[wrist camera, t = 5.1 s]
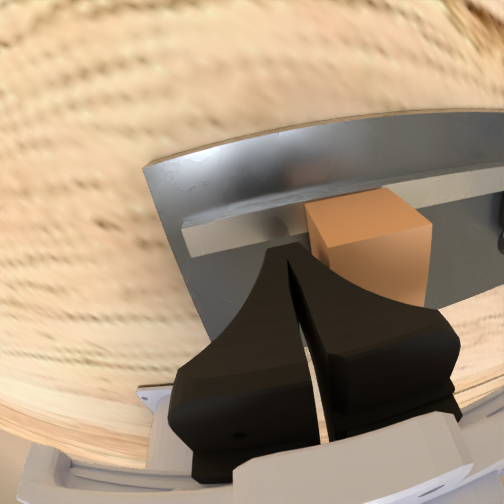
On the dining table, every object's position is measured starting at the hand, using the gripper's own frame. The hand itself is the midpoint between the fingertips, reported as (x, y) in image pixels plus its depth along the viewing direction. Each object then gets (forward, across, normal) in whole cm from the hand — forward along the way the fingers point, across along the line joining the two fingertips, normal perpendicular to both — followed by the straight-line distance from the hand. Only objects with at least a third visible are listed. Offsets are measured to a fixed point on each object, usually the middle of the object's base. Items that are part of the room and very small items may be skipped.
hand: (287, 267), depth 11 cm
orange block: (+2, -3, +1) cm, 4 cm away
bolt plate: (+4, -7, +2) cm, 8 cm away
